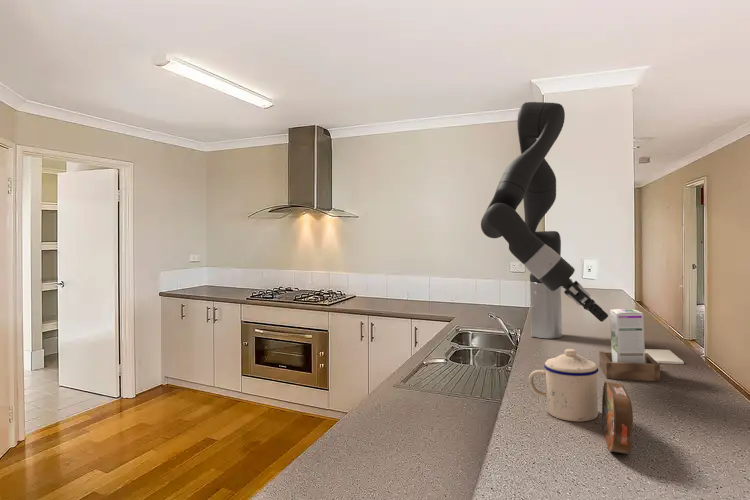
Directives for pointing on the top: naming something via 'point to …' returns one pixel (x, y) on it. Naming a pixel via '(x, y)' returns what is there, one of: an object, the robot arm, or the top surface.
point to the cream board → (664, 356)
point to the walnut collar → (629, 368)
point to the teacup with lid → (569, 387)
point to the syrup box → (627, 336)
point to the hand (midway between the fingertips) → (602, 315)
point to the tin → (617, 417)
